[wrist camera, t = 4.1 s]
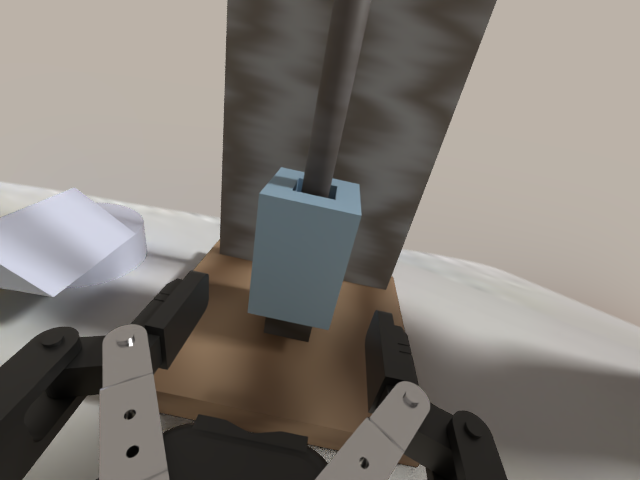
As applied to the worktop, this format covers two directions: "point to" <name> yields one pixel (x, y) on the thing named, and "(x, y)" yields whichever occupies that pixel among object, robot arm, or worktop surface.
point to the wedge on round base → (69, 244)
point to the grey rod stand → (320, 167)
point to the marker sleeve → (302, 249)
